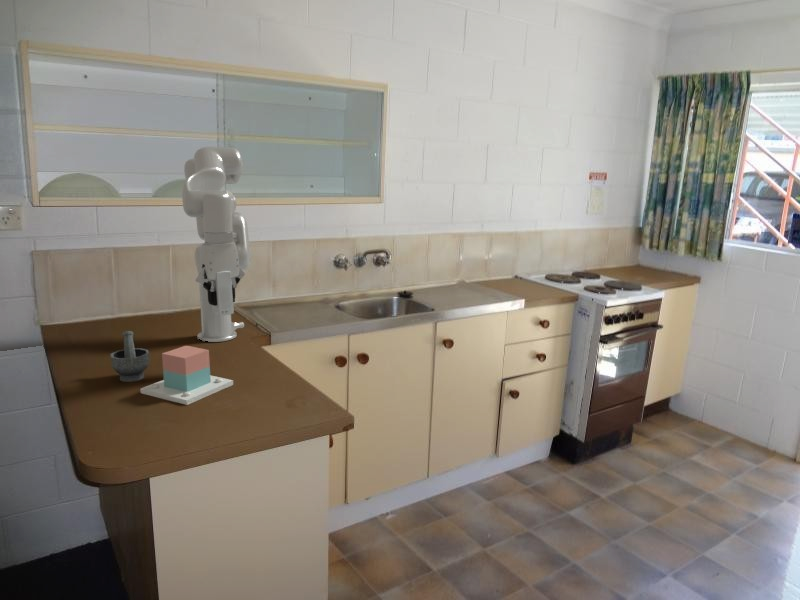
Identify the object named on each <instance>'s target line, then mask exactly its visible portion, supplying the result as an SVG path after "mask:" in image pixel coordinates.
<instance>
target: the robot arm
mask: <svg viewBox="0 0 800 600" xmlns="http://www.w3.org/2000/svg"><path fill="white" fill-rule="evenodd" d="M241 154H242V153H241V152H240V151H239V150H238V149H237V148H235V147H231V146H230V147H228V146H227V147H226V146H225V147H223V146H205V147H200V148H198V149H197V150H196V152H195V153H194V155H193V158H190V159H187V161H186V162H185V163H184V167H183V169H184V171H183V172H184V177H185V180H184V183H183V184H182V188H181V200H182V207H183V210H184V213H185V214H186V216H188V217H190V218H195V221H196V229H197V230H196V231H197V235H198V237H199V238H200V240H203V241H204V243H201V244H200V245H198V246H197V247H195V250H194V262H195V266H196V271H197V277H196V278H195V282H196V283H198V288H199V303H200V306H199V307H200V320H201V331H200V332H199V333H198V334H197V336H196V338H197V340H199V339H200V340H202V341H201V342H205V341H208V342H207V343H220V342H221V343H222V342H227V341H230V340H233V339H235V338H236V337H237V335H238V333H237V332H236V331H237V329H243V328H245V323H244V322H243V321H240V322H235V321H234V322H233V321H232V314H230V315H218V314H217V313H215V312H213V309H212V305H214V306H216V305H217V293H216V291H215V285H216V273H218V272H225V271H230V272H231V282H232V296H233V303H235V302H236V288H237V286H238V284H239V283H240V281H241V280H242V279H243V278H244V277H245V275H246V274H245V272H244V271H247V270H248V269H249V268H250V267H251V258H252V257H251V249H250V240H249V239H250V238H249V230H248V229H249V228H248V223H247V219H246V217H245V215H244V214H243V213H242V212H239V211H236V210H237V199H236V196H235V195H234V194H233V193H232V192H231V191H230V190H225V189H222V188H223V187H224V186H225V185H233V184H238V182H239V181H240V178H241V175H242V173H243V168H244V164H243V161H244V160H243V157H242V155H241ZM200 340H199V341H200Z"/></svg>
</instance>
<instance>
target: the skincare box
mask: <svg viewBox="0 0 800 600" xmlns="http://www.w3.org/2000/svg"><path fill="white" fill-rule="evenodd" d="M215 291H216V293H217V305H216V306H214V305H212V309H213V312H215V313H217V314H218V315H230V314H231V315H233V314H234V312H235V311H234V302H233V296H232V282H231V272H230V271H225V272H218V273H216V285H215Z"/></svg>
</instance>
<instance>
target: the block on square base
mask: <svg viewBox="0 0 800 600" xmlns="http://www.w3.org/2000/svg"><path fill="white" fill-rule="evenodd" d="M161 358H162V373H163V380H160V381H157V382H154V383H152V384H149V385H147V386H144V387H143V386H142V388H139V389H140V394H143V395H147V396H151V397H154V398H157V399H162V400H165V401H170V402H173V403H178V404H182V405H186V406H188V405H190V404H192V403H195V402H197V401H199V400H202V399H203V398H206V397H209V396H211V395H213V394H215V393H218V392H220V391H222V390H225V389H226V388H229V387H232V386H233V385H234V380H233V379H230V378H229V379H228V378H224V377H219V376H216V375H215V376H214V375H211V366H210V364H211V363H210V350H209V349H206V348H201V347H200V348H199V347H195V346H190V345H183V346H180V347H178V348H174V349H172V350H169V351H165V352H162V353H161Z"/></svg>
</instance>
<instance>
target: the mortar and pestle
mask: <svg viewBox="0 0 800 600" xmlns="http://www.w3.org/2000/svg"><path fill="white" fill-rule="evenodd" d="M122 337H123V349H120V350H116V351H114V352H112V353H110V363H111V367H112V368H113V370H114V371H115V373H117V374H118V375H119V381H121V382H125V383H127V382H129V383H131V382H136V381H141V380H143V379H144V378H145V374H144V371H146V370H147V369H148V366H149V364H150V351H149V349H146V348H139V347H137V348H135V343H134V332H133V331H132V330H126V331H124V332H122Z"/></svg>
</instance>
